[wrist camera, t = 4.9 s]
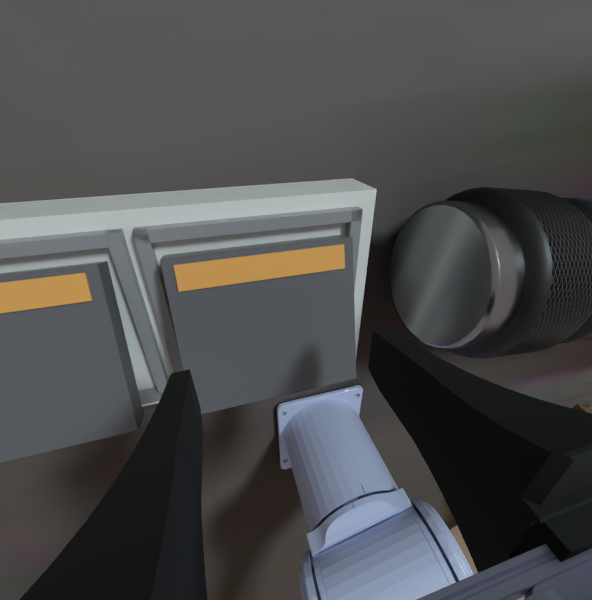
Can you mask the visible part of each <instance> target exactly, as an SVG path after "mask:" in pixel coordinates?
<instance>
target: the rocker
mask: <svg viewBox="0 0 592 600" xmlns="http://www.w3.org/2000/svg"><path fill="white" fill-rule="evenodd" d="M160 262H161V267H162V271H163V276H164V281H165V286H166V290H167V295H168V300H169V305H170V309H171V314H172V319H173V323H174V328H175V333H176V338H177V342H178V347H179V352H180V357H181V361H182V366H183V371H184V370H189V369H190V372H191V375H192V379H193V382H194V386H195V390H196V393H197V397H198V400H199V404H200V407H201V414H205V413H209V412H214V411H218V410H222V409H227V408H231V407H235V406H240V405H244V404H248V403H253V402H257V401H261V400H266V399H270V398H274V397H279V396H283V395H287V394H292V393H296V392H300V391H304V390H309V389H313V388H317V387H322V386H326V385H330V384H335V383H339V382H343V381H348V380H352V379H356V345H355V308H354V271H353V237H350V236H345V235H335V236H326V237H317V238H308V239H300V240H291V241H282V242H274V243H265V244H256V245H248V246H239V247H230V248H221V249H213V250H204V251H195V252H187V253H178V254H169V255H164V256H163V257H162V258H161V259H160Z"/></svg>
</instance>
